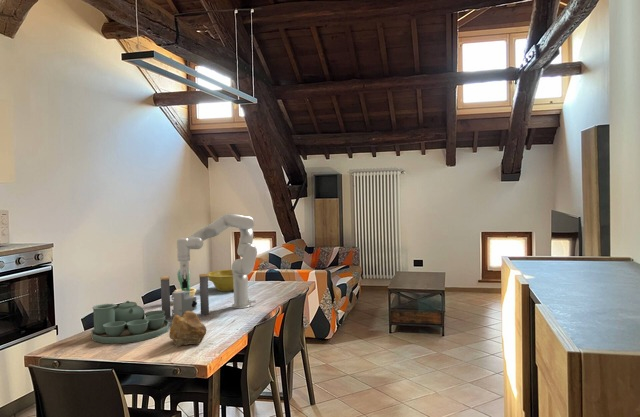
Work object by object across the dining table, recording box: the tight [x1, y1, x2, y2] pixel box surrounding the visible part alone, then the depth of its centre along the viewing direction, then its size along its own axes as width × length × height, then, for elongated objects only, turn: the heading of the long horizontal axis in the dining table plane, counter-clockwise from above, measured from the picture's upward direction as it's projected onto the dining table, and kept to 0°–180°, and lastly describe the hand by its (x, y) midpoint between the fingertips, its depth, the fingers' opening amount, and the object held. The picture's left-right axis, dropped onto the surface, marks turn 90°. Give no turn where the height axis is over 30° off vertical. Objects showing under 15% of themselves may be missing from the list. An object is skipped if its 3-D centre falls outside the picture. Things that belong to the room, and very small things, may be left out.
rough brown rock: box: [169, 311, 207, 347], centre depth 237 cm, size 23×17×15 cm
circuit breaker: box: [171, 291, 198, 318], centre depth 291 cm, size 8×14×15 cm, turn 78°
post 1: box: [160, 276, 172, 320], centre depth 288 cm, size 5×5×25 cm
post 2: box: [198, 273, 210, 316], centre depth 294 cm, size 5×5×25 cm
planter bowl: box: [206, 269, 234, 292], centre depth 374 cm, size 32×32×13 cm
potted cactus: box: [173, 268, 197, 297], centre depth 333 cm, size 15×15×25 cm
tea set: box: [90, 300, 170, 344], centre depth 258 cm, size 40×40×16 cm
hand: (184, 287), depth 291 cm, fingers closed
